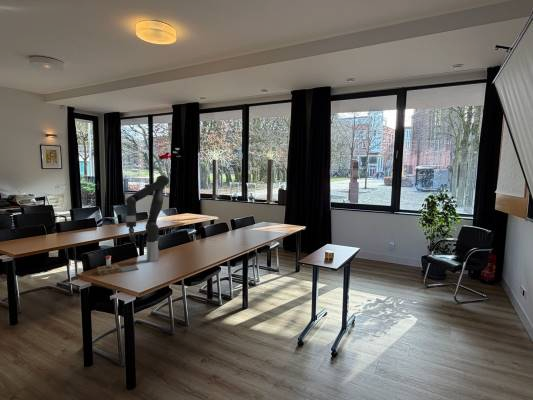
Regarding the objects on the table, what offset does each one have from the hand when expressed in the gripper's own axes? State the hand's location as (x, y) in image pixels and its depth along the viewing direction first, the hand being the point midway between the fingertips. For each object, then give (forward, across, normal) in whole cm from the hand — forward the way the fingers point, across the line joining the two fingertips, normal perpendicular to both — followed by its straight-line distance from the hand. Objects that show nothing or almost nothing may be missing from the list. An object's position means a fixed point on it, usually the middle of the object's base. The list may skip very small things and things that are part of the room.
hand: (131, 240), depth 260 cm
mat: (+21, -13, +3) cm, 25 cm away
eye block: (+21, -14, +17) cm, 31 cm away
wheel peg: (+21, -14, +17) cm, 31 cm away
